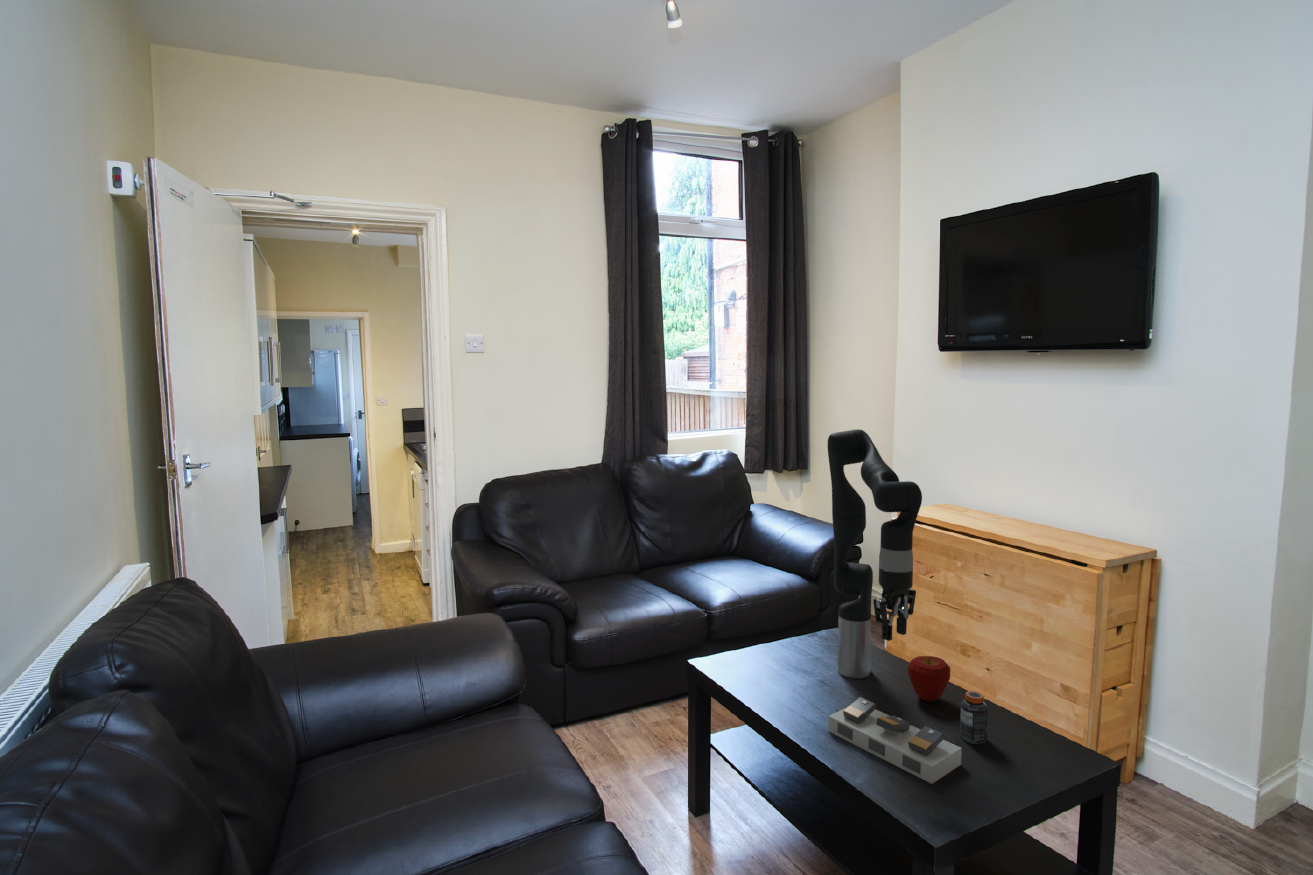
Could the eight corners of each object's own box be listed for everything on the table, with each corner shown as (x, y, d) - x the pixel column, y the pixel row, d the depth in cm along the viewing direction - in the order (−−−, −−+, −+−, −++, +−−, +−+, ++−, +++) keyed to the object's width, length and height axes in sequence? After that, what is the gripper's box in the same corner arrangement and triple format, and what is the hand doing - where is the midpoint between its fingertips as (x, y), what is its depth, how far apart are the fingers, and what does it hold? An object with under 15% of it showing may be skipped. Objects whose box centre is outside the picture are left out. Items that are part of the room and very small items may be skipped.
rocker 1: (860, 702, 174) (860, 696, 173) (875, 709, 170) (874, 702, 170) (843, 716, 170) (843, 710, 169) (858, 723, 166) (857, 717, 166)
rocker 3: (925, 731, 159) (925, 724, 159) (943, 739, 156) (942, 732, 156) (909, 747, 156) (908, 741, 155) (926, 756, 152) (925, 749, 152)
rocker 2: (892, 721, 167) (894, 714, 167) (909, 729, 164) (910, 721, 164) (876, 724, 163) (877, 717, 163) (892, 732, 159) (893, 724, 159)
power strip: (851, 713, 180) (852, 696, 179) (961, 764, 156) (961, 745, 156) (821, 728, 172) (822, 711, 172) (931, 784, 149) (932, 764, 148)
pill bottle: (985, 734, 169) (986, 690, 168) (988, 746, 163) (989, 701, 162) (958, 730, 171) (960, 687, 170) (961, 742, 165) (962, 697, 164)
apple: (927, 686, 194) (928, 645, 193) (958, 703, 185) (960, 660, 184) (898, 694, 190) (899, 653, 189) (928, 712, 180) (930, 668, 179)
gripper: (899, 557, 167) (897, 625, 168) (863, 568, 158) (862, 639, 160) (927, 564, 161) (925, 634, 162) (891, 575, 152) (890, 649, 154)
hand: (894, 636), depth 161 cm, fingers open, 5 cm apart
